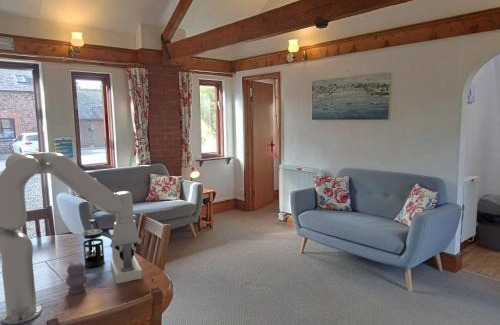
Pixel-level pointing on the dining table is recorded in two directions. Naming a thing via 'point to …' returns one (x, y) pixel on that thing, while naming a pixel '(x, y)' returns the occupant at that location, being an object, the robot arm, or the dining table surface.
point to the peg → (127, 256)
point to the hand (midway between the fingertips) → (127, 257)
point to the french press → (93, 256)
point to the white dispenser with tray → (119, 270)
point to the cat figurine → (76, 277)
